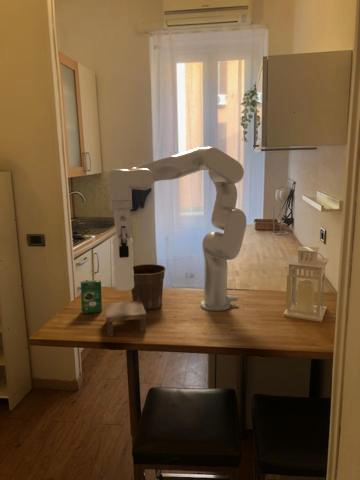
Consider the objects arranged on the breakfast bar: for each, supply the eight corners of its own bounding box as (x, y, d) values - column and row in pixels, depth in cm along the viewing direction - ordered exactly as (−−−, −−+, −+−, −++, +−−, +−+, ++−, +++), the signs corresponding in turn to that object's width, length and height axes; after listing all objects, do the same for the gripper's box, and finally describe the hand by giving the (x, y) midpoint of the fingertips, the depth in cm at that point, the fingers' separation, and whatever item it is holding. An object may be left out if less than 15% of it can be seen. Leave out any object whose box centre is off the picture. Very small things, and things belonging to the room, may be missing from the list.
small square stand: (141, 317, 150) (141, 300, 149) (146, 332, 137) (146, 313, 136) (105, 320, 147) (104, 303, 146) (107, 336, 134) (106, 317, 132)
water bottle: (116, 285, 143) (113, 219, 138) (135, 285, 142) (133, 219, 137) (113, 291, 136) (109, 222, 131) (132, 291, 135) (130, 221, 131)
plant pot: (121, 310, 158) (120, 272, 155) (137, 297, 173) (136, 262, 170) (158, 314, 153) (157, 275, 150) (171, 300, 168) (170, 265, 165)
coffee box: (101, 309, 159) (100, 279, 156) (102, 311, 156) (101, 281, 154) (81, 312, 156) (79, 281, 154) (82, 314, 153) (80, 283, 151)
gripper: (134, 207, 126) (136, 259, 129) (129, 202, 142) (131, 248, 146) (111, 208, 124) (114, 261, 127) (109, 202, 141) (111, 250, 144)
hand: (123, 254), depth 137 cm, fingers closed on water bottle, 6 cm apart
